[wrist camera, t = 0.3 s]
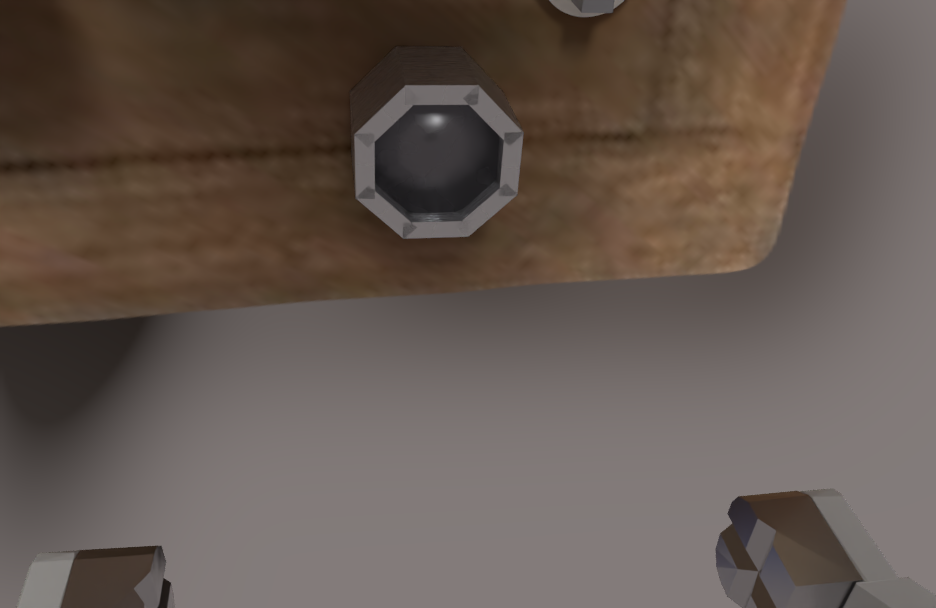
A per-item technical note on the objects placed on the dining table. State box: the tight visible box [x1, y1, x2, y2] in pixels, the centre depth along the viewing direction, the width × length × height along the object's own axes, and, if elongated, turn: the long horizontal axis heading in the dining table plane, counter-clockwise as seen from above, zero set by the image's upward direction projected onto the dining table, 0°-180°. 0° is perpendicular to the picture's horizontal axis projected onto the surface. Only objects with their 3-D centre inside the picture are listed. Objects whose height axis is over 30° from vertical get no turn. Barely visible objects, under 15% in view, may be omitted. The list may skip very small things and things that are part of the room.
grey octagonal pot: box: [349, 46, 524, 239], centre depth 54 cm, size 10×10×7 cm
